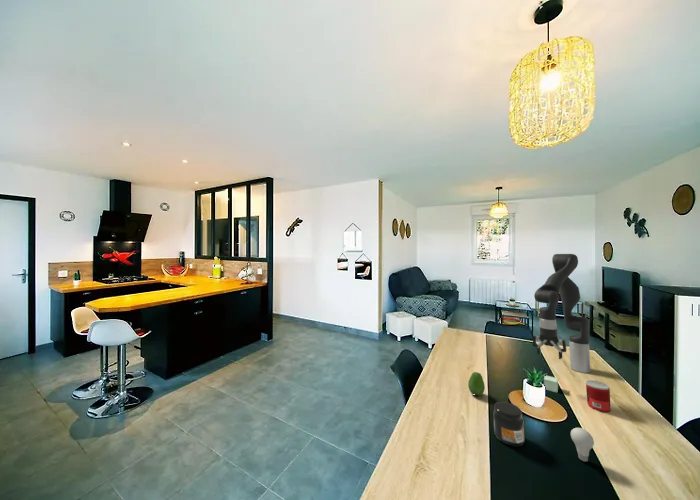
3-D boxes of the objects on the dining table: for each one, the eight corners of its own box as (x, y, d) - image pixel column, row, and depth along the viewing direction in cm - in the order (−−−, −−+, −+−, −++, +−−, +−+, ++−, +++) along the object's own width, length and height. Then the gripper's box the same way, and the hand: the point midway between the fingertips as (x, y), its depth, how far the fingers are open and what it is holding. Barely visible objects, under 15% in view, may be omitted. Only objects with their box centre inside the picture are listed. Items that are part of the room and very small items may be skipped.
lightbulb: (567, 454, 91) (565, 424, 92) (582, 453, 92) (580, 422, 92) (584, 468, 85) (582, 436, 86) (600, 467, 86) (598, 434, 86)
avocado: (487, 399, 127) (486, 376, 127) (470, 398, 129) (469, 375, 129) (482, 391, 135) (481, 368, 135) (466, 390, 136) (465, 368, 137)
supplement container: (525, 452, 93) (524, 419, 94) (493, 441, 99) (492, 411, 99) (524, 434, 102) (522, 405, 102) (494, 426, 108) (493, 398, 108)
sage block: (545, 385, 139) (544, 375, 139) (558, 388, 135) (557, 378, 135) (544, 389, 135) (543, 379, 135) (557, 392, 131) (557, 382, 131)
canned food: (615, 413, 113) (614, 389, 113) (595, 411, 115) (593, 387, 115) (602, 403, 121) (600, 380, 121) (583, 402, 122) (581, 379, 123)
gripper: (565, 327, 134) (567, 357, 133) (532, 323, 143) (534, 351, 143) (565, 330, 128) (566, 362, 128) (531, 326, 138) (532, 355, 137)
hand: (549, 356), depth 135 cm, fingers open, 8 cm apart
